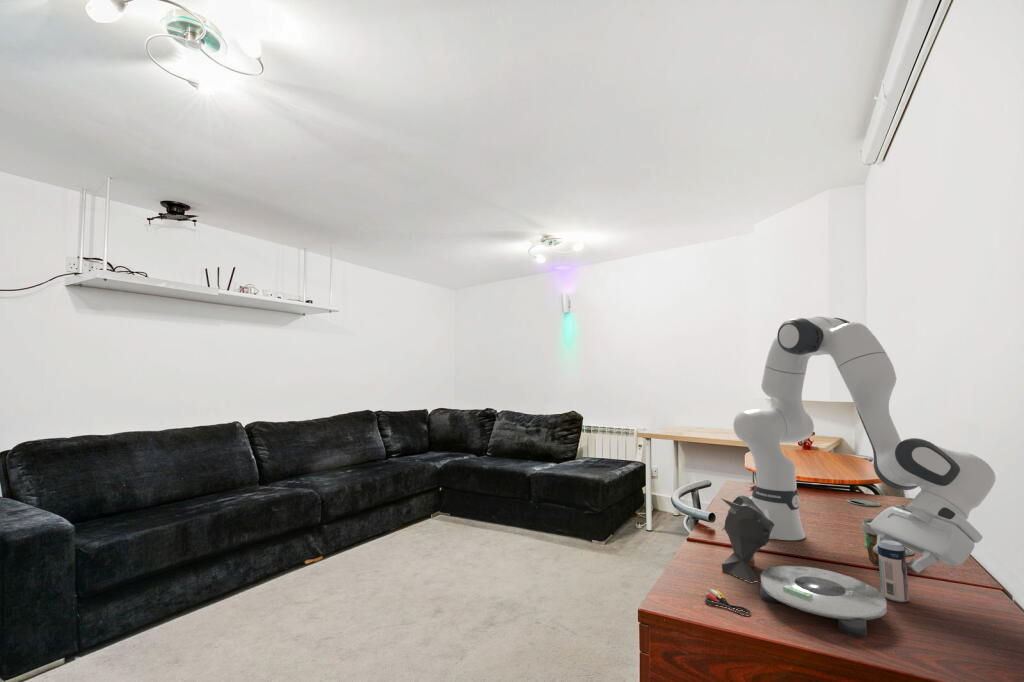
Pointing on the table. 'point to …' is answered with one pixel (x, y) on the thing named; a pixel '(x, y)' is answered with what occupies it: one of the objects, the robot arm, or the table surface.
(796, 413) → the robot arm
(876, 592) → the round grey plate
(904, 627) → the table surface
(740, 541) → the dark grey angular piece
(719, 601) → the composite cable
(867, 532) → the food container
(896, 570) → the beer can
